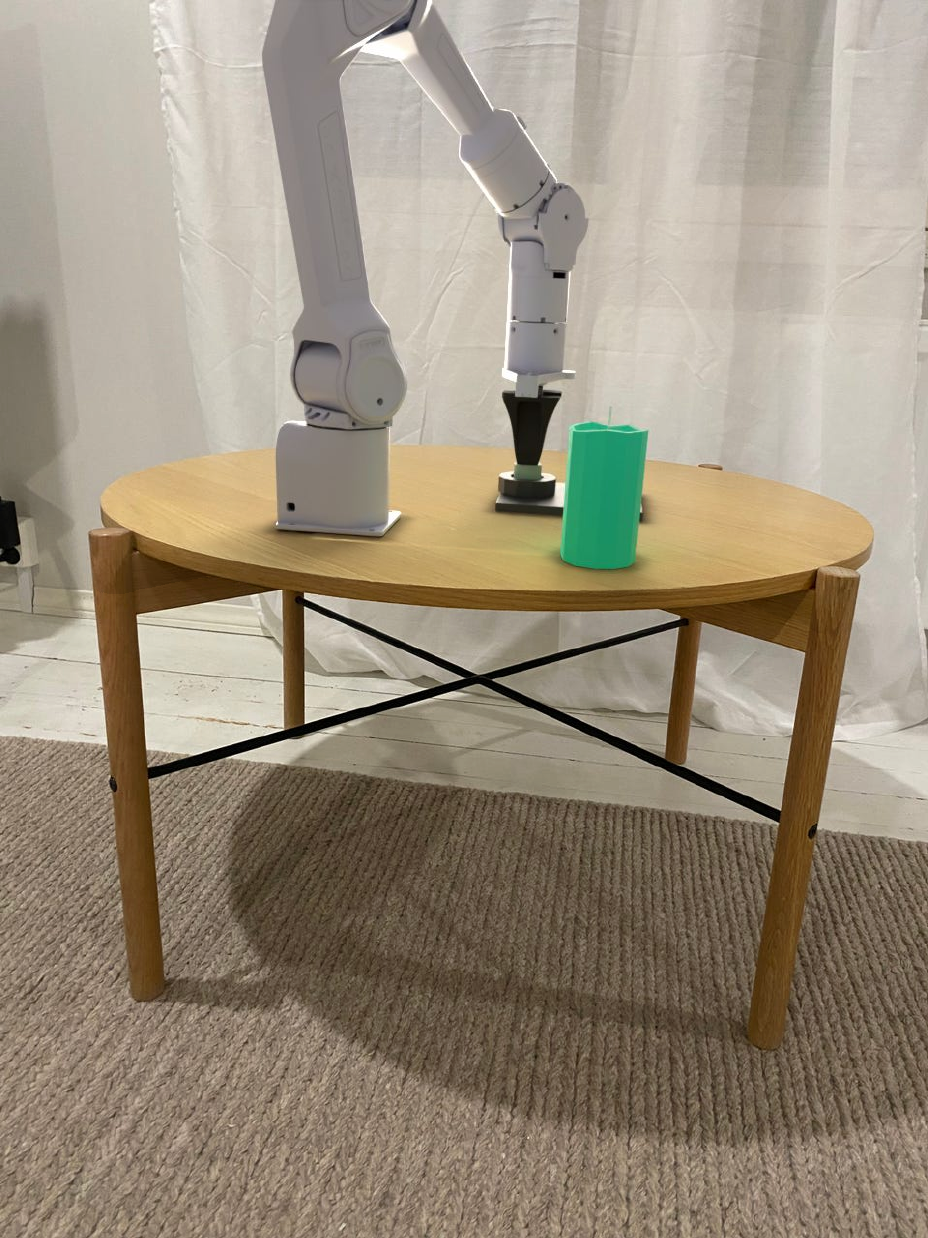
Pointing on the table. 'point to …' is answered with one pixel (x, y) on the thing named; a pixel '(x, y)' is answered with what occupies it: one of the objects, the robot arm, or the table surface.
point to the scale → (532, 495)
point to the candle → (603, 494)
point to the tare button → (527, 471)
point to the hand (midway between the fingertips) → (527, 464)
